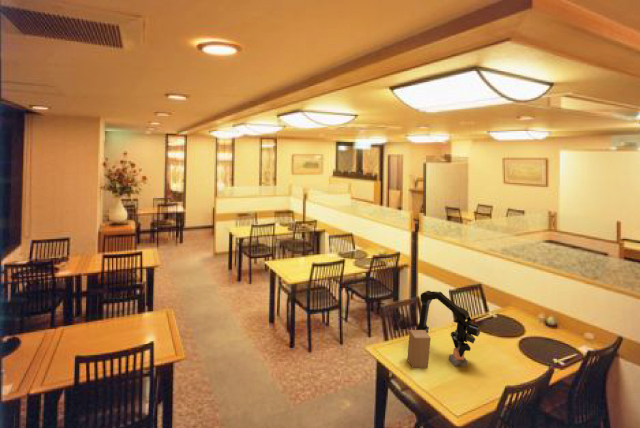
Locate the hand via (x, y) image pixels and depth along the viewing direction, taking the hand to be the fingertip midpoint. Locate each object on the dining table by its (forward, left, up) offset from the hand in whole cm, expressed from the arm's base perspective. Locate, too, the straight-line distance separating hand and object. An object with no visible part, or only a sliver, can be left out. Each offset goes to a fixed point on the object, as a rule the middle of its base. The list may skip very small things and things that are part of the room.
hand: (458, 353), depth 226 cm
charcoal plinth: (0, 0, -7) cm, 7 cm away
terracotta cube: (0, 0, -3) cm, 3 cm away
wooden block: (-26, -3, -7) cm, 27 cm away
